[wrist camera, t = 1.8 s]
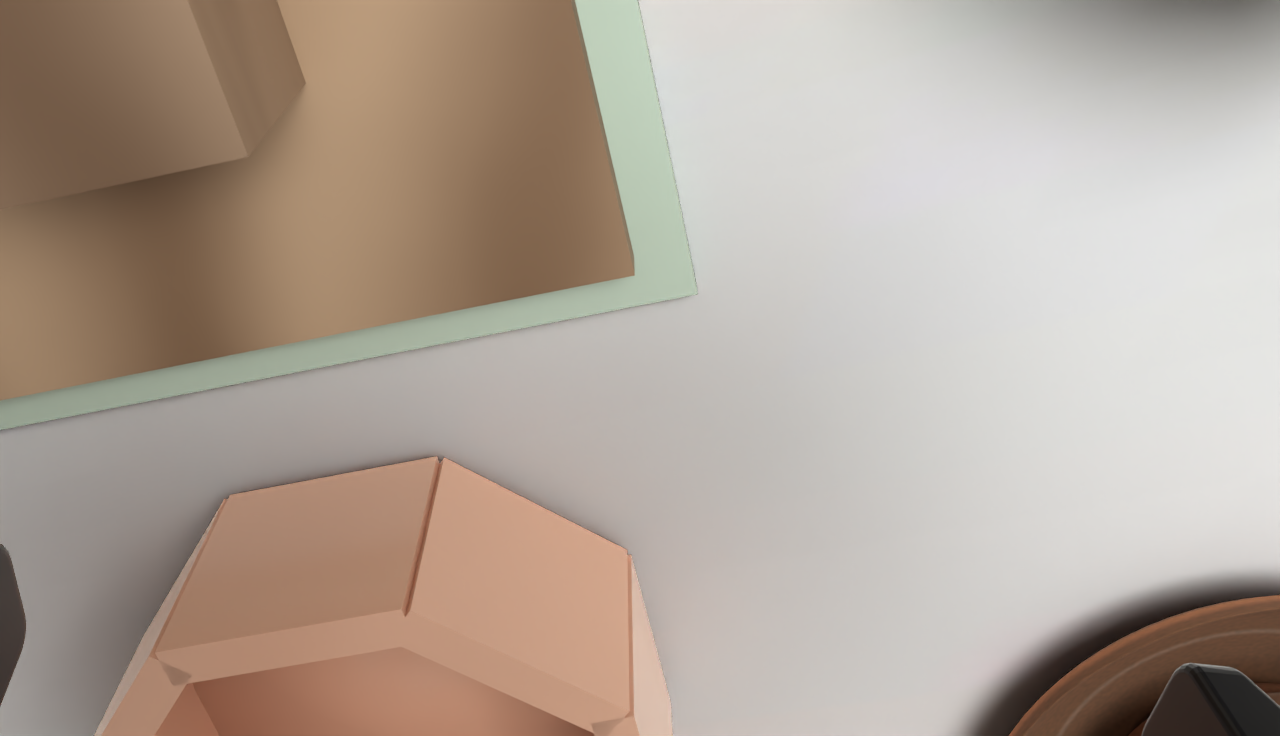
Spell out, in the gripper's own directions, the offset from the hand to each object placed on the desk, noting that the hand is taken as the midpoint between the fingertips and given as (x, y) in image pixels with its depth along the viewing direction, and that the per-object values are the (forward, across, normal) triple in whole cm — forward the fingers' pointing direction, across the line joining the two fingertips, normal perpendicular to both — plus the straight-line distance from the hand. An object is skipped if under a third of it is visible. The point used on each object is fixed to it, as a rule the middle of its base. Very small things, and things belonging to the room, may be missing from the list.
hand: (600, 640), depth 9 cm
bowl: (+12, +4, +14) cm, 19 cm away
